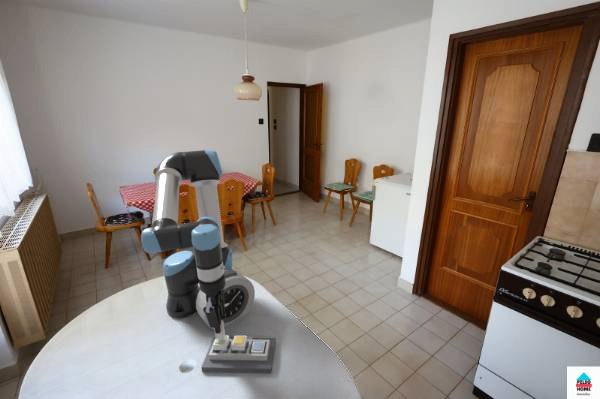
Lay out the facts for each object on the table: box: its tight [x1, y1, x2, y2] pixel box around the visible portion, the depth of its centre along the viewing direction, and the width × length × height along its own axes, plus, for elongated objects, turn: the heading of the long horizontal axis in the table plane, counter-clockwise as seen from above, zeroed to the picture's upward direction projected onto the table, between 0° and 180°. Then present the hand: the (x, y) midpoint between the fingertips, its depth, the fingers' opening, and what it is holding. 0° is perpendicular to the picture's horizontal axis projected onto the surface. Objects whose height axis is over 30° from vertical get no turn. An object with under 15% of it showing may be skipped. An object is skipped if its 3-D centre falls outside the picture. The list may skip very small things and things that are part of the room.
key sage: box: [213, 334, 230, 350], centre depth 92 cm, size 4×4×2 cm
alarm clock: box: [196, 269, 256, 330], centre depth 108 cm, size 21×8×20 cm, turn 132°
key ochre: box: [232, 335, 248, 350], centre depth 92 cm, size 4×4×2 cm
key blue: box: [251, 342, 265, 354], centre depth 92 cm, size 4×4×2 cm
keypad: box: [201, 336, 277, 374], centre depth 93 cm, size 22×12×4 cm, turn 88°
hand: (220, 337), depth 91 cm, fingers closed
